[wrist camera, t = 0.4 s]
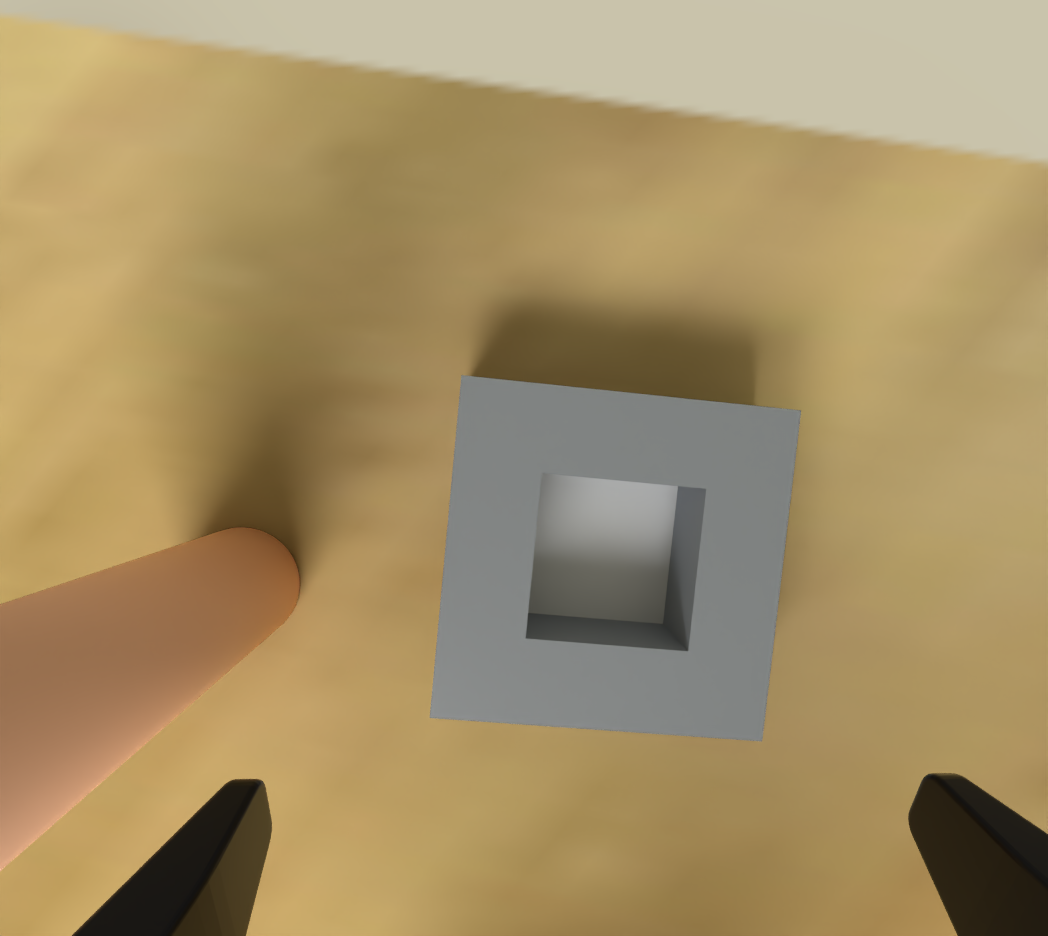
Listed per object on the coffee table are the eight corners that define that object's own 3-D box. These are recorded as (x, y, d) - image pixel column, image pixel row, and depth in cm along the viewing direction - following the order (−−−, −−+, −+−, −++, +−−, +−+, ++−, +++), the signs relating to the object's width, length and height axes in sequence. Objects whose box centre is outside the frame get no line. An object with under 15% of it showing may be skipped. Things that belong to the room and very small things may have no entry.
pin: (241, 663, 23) (-158, 1017, 9) (158, 582, 22) (-392, 817, 8) (323, 584, 23) (55, 815, 9) (242, 503, 22) (-171, 608, 9)
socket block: (722, 697, 24) (762, 741, 20) (439, 676, 23) (429, 717, 20) (754, 415, 23) (800, 410, 20) (466, 385, 23) (461, 375, 19)
